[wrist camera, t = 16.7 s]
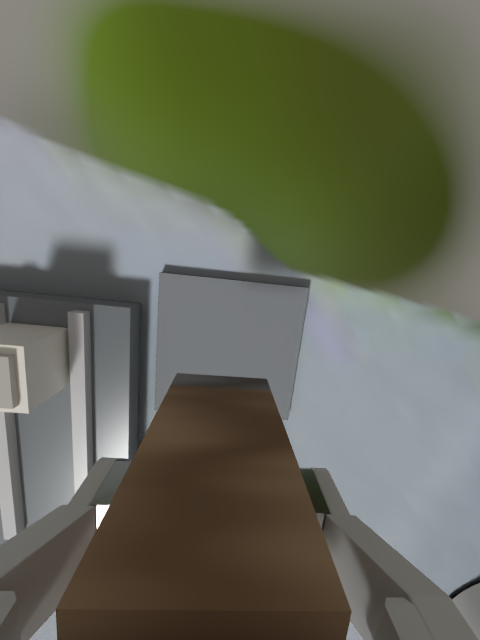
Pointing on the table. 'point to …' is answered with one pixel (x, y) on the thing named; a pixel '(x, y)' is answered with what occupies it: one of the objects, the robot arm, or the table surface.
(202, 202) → the table surface
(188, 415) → the wooden block
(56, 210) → the table surface
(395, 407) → the table surface
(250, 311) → the mat
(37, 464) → the switch panel
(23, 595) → the robot arm
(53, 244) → the table surface
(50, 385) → the switch tab
